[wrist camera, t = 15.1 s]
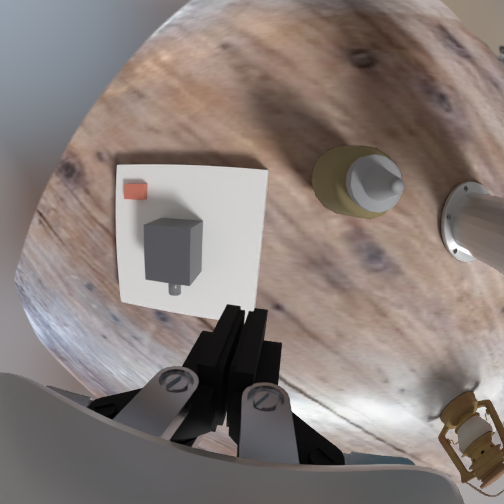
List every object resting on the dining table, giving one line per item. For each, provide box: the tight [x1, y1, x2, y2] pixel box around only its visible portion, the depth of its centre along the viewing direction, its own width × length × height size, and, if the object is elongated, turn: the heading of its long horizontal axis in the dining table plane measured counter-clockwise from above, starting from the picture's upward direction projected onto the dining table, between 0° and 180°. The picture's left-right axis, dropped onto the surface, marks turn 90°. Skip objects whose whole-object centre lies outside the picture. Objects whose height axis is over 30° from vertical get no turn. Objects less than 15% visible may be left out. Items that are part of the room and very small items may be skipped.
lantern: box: [438, 391, 504, 497], centre depth 28 cm, size 15×10×30 cm
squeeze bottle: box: [312, 146, 404, 219], centre depth 24 cm, size 8×8×18 cm
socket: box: [116, 164, 269, 323], centre depth 35 cm, size 20×20×4 cm
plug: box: [144, 218, 203, 296], centre depth 33 cm, size 9×6×8 cm, turn 175°
